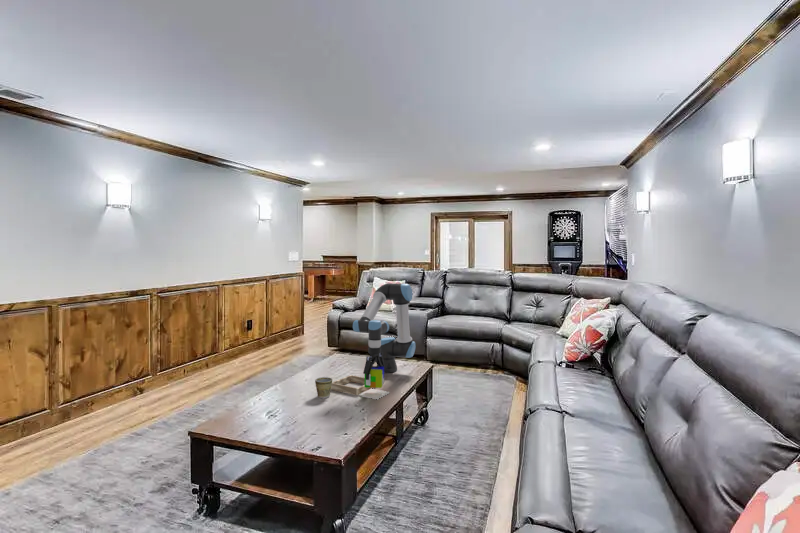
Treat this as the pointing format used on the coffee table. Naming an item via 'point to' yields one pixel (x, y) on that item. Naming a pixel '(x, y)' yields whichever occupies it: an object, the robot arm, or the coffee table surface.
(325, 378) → the ceramic cup
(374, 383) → the puzzle toy
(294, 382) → the coffee table surface
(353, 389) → the bin
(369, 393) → the pad
